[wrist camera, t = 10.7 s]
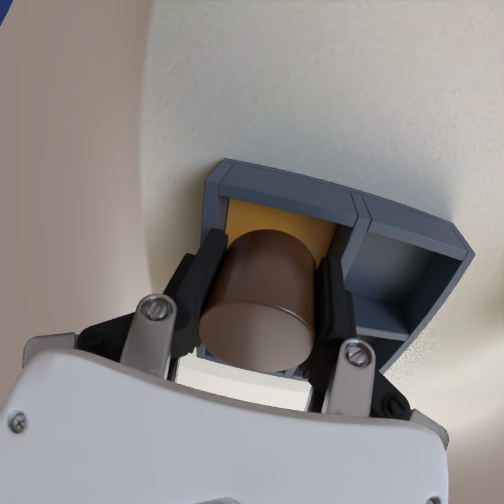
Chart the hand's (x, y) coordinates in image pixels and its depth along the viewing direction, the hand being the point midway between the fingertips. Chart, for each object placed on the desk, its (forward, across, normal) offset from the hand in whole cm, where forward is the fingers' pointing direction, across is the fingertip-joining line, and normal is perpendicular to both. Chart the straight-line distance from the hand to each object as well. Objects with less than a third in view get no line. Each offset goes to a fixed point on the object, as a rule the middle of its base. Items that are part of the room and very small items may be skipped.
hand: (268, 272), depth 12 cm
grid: (+4, -3, +3) cm, 6 cm away
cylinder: (0, 0, 0) cm, 0 cm away
